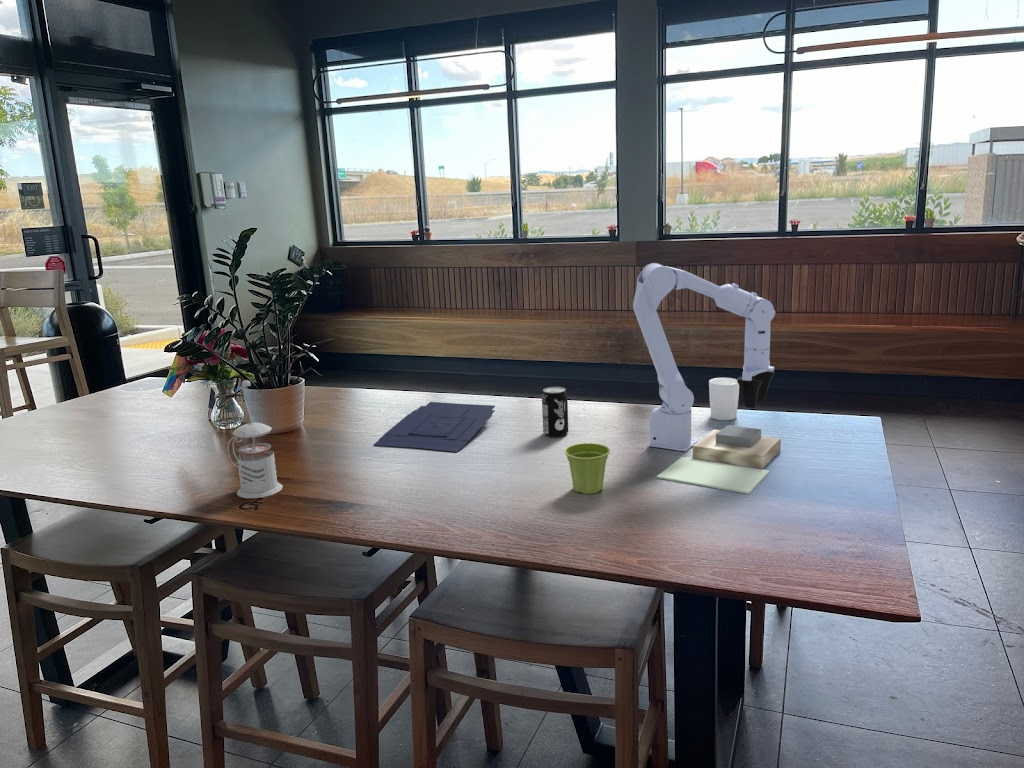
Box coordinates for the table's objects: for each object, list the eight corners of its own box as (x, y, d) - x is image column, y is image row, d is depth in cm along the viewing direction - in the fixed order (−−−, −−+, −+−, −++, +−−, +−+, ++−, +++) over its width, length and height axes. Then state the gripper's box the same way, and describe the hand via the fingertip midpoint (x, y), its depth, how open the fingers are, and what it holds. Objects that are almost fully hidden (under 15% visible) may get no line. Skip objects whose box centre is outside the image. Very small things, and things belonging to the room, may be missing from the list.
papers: (503, 415, 218) (501, 403, 216) (459, 462, 192) (457, 448, 190) (425, 410, 226) (424, 398, 225) (373, 454, 200) (371, 441, 199)
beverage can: (573, 432, 203) (571, 387, 200) (560, 439, 197) (559, 393, 195) (551, 429, 206) (549, 385, 203) (538, 436, 201) (536, 391, 198)
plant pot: (616, 494, 160) (615, 454, 158) (571, 499, 158) (570, 459, 156) (603, 479, 169) (602, 441, 167) (561, 483, 167) (560, 445, 165)
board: (692, 458, 179) (692, 445, 178) (714, 441, 190) (714, 429, 190) (762, 468, 170) (762, 455, 170) (780, 450, 181) (780, 438, 181)
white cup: (715, 411, 215) (715, 376, 213) (743, 415, 211) (743, 379, 208) (704, 418, 209) (704, 382, 207) (732, 422, 204) (733, 385, 202)
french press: (264, 500, 166) (249, 386, 160) (220, 495, 170) (204, 384, 164) (291, 483, 175) (278, 376, 169) (249, 479, 179) (235, 374, 173)
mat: (656, 477, 168) (656, 476, 168) (681, 458, 179) (681, 457, 179) (748, 494, 157) (748, 492, 157) (769, 472, 168) (769, 470, 168)
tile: (715, 443, 179) (715, 434, 179) (727, 433, 186) (727, 425, 185) (750, 448, 175) (750, 438, 174) (761, 438, 181) (761, 429, 181)
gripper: (764, 355, 176) (762, 412, 179) (783, 343, 187) (781, 398, 190) (733, 352, 180) (732, 409, 183) (754, 341, 191) (752, 395, 194)
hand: (755, 403), depth 187 cm, fingers open, 7 cm apart
